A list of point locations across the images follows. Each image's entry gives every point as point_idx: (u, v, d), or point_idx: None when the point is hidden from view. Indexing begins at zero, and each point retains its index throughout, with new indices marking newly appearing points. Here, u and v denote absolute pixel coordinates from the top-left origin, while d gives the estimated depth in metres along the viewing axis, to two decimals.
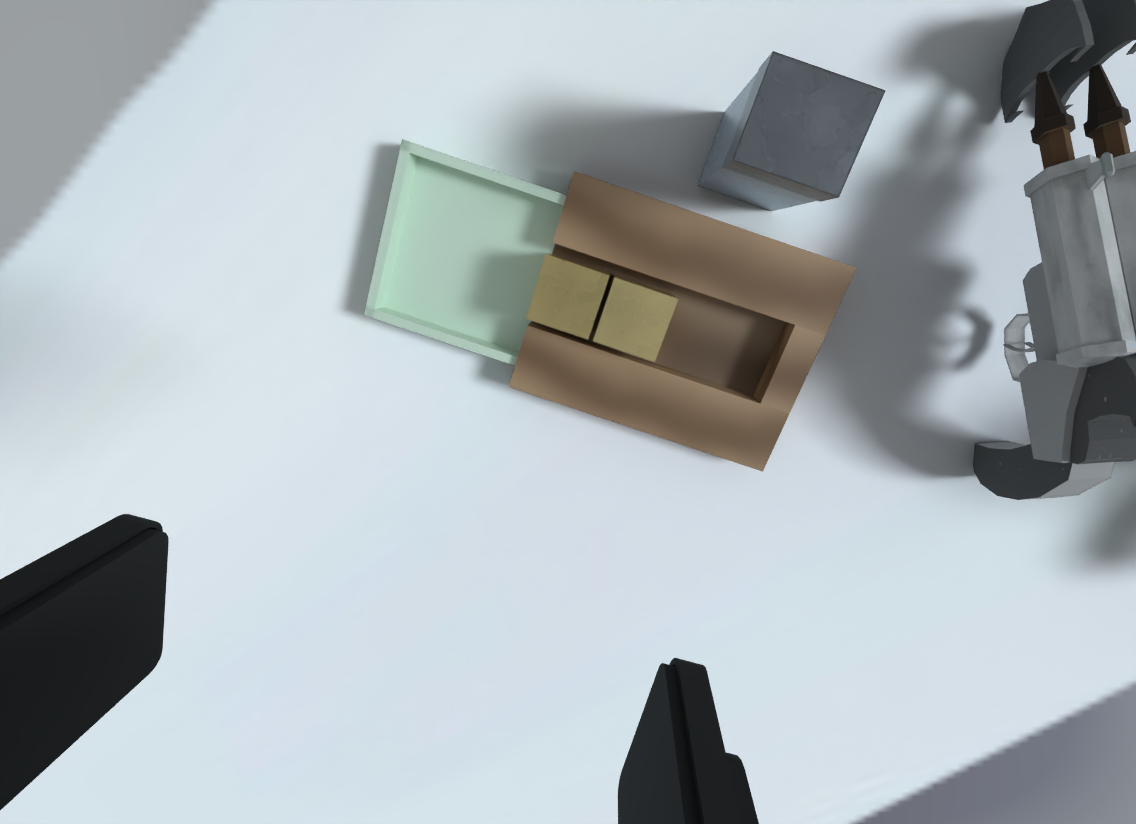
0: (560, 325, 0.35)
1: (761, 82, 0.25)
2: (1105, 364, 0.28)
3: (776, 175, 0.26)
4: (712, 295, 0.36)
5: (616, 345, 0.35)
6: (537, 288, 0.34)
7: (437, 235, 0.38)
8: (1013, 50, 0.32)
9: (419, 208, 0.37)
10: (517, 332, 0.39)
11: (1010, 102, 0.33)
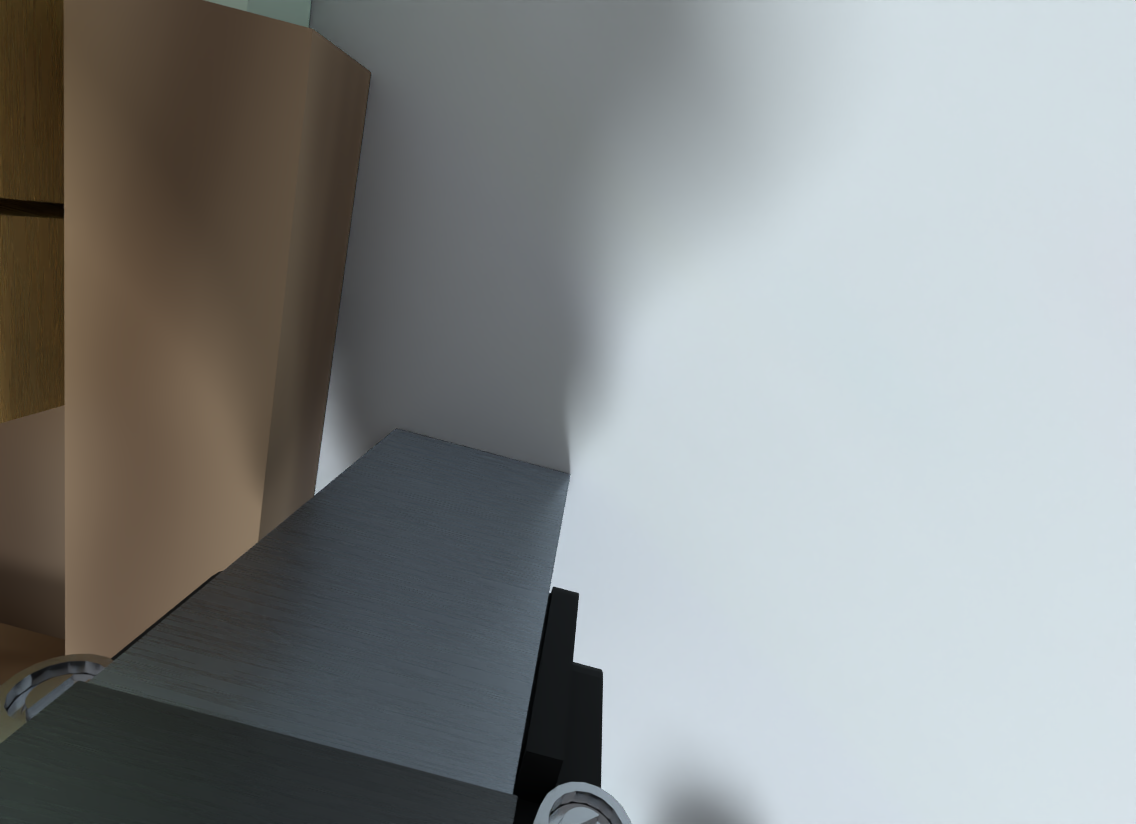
0: None
1: None
2: None
3: None
4: (68, 516, 0.12)
5: None
6: None
7: None
8: None
9: None
10: None
11: None
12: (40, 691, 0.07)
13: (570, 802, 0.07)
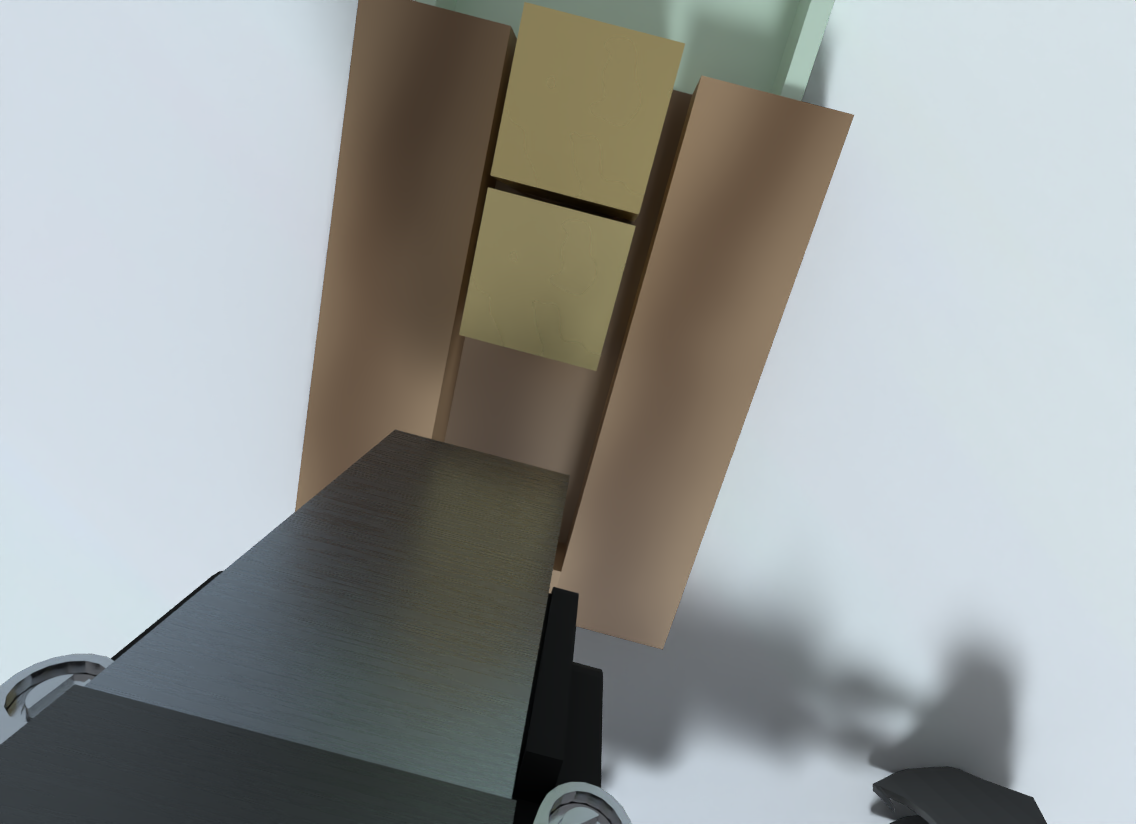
0: (516, 100, 0.14)
1: None
2: None
3: None
4: (604, 428, 0.19)
5: (484, 245, 0.15)
6: (601, 28, 0.14)
7: None
8: (970, 782, 0.23)
9: None
10: (495, 17, 0.17)
11: (902, 789, 0.23)
12: (40, 691, 0.07)
13: (570, 802, 0.07)
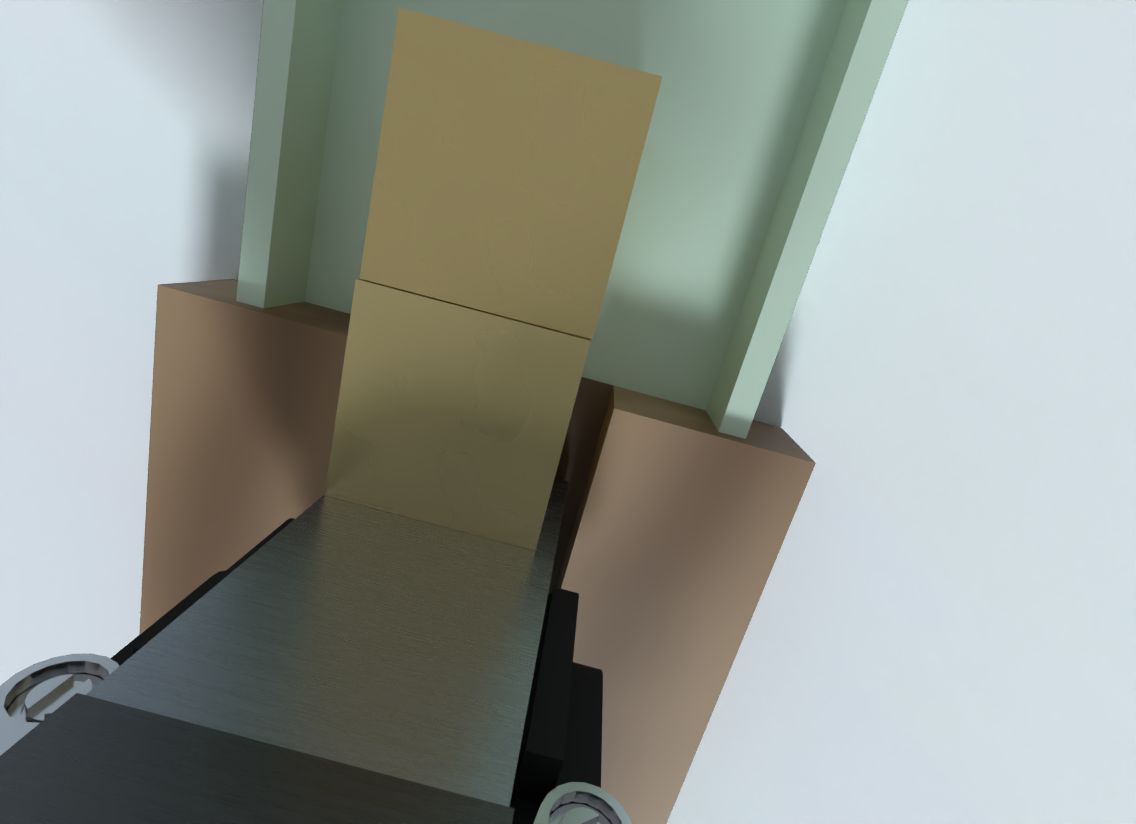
0: (393, 164, 0.09)
1: None
2: None
3: None
4: None
5: (355, 366, 0.10)
6: (525, 51, 0.08)
7: (622, 9, 0.12)
8: None
9: None
10: None
11: None
12: (40, 691, 0.07)
13: (570, 802, 0.07)
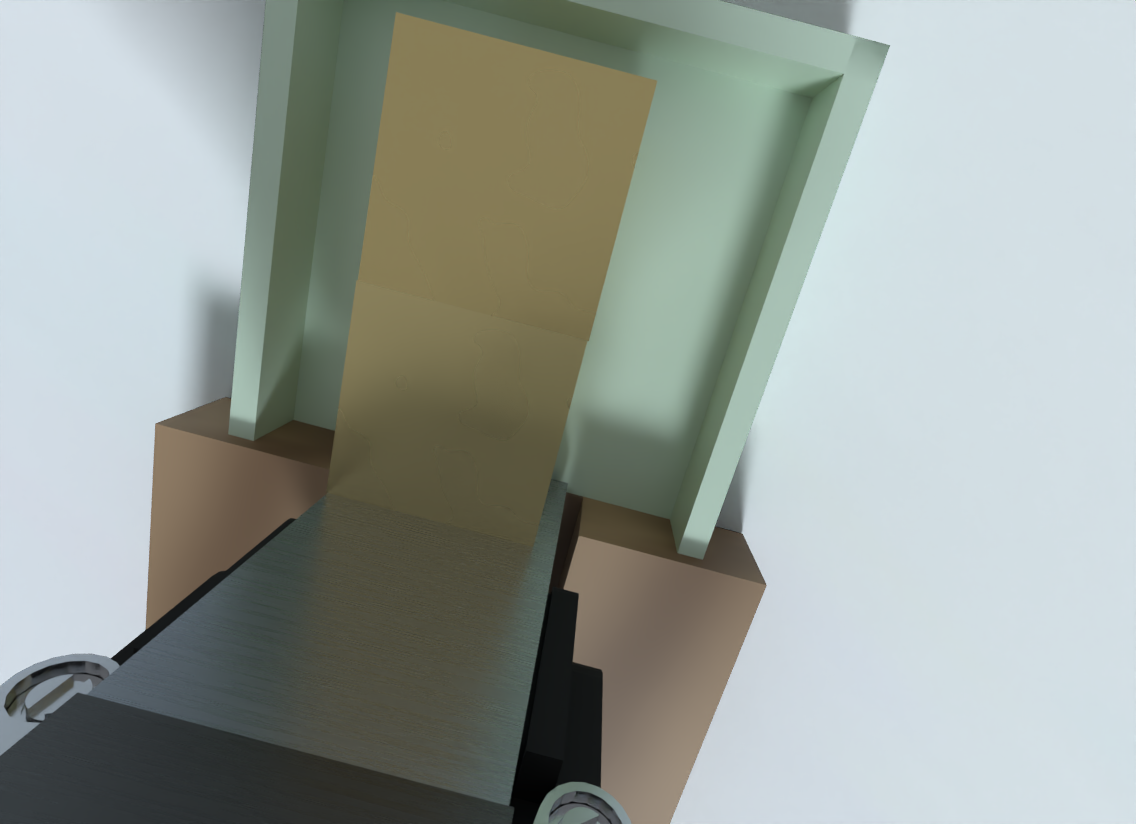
0: (391, 167, 0.09)
1: None
2: None
3: None
4: None
5: (356, 366, 0.10)
6: (521, 55, 0.08)
7: None
8: None
9: (660, 103, 0.12)
10: None
11: None
12: (40, 691, 0.07)
13: (570, 802, 0.07)
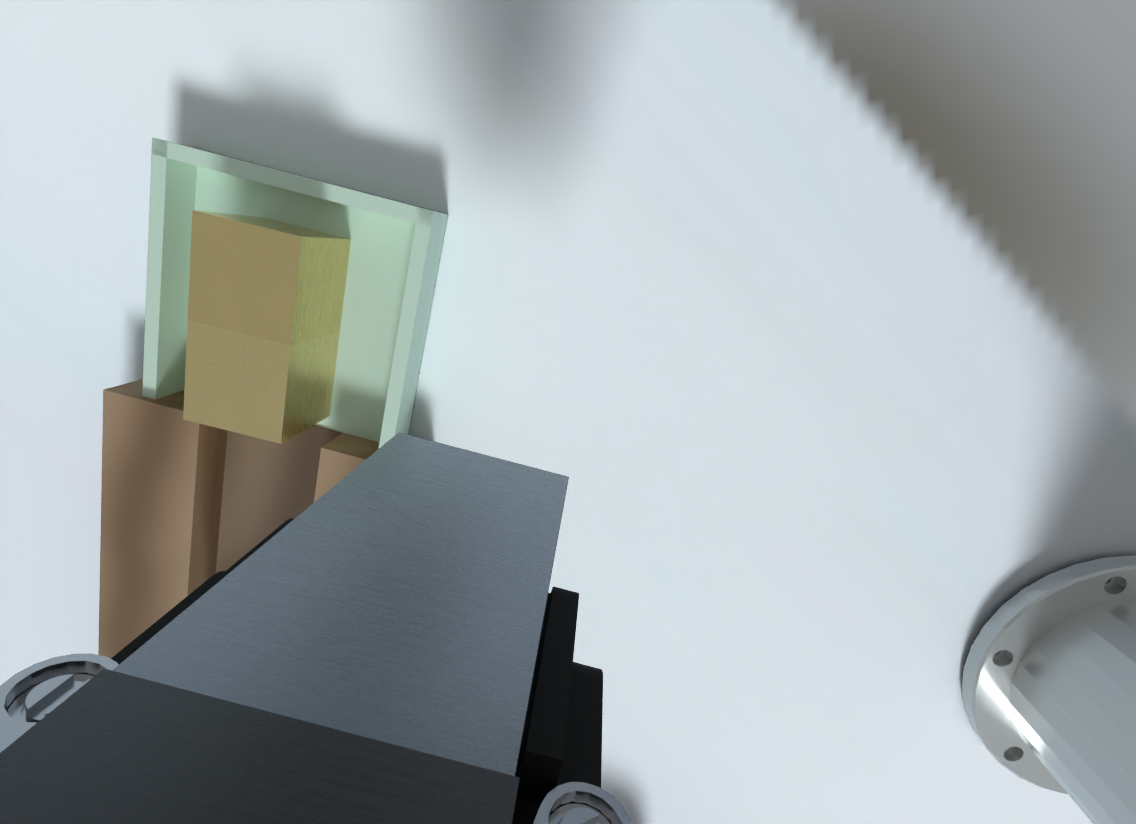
0: (197, 271, 0.21)
1: None
2: None
3: None
4: None
5: (191, 358, 0.22)
6: (244, 227, 0.20)
7: None
8: None
9: (356, 226, 0.24)
10: None
11: None
12: (40, 691, 0.07)
13: (570, 802, 0.07)
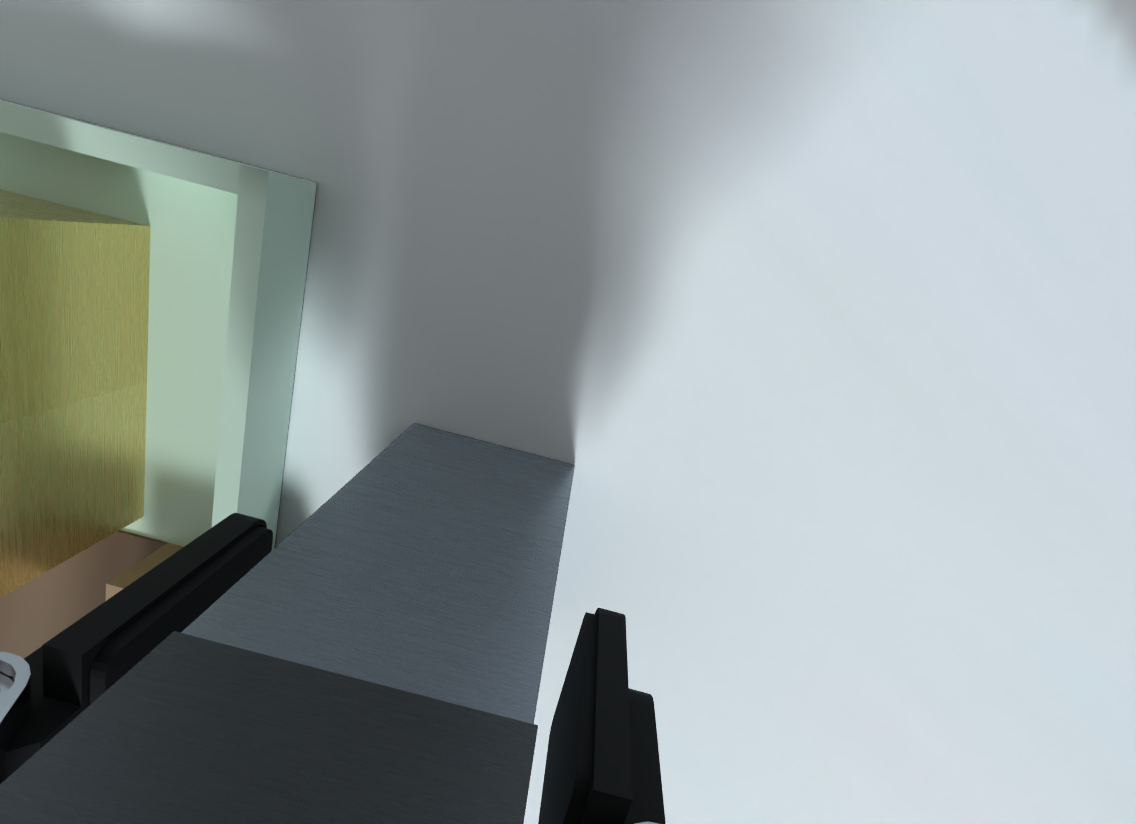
0: None
1: None
2: None
3: None
4: None
5: None
6: None
7: None
8: None
9: (158, 204, 0.14)
10: None
11: None
12: None
13: None
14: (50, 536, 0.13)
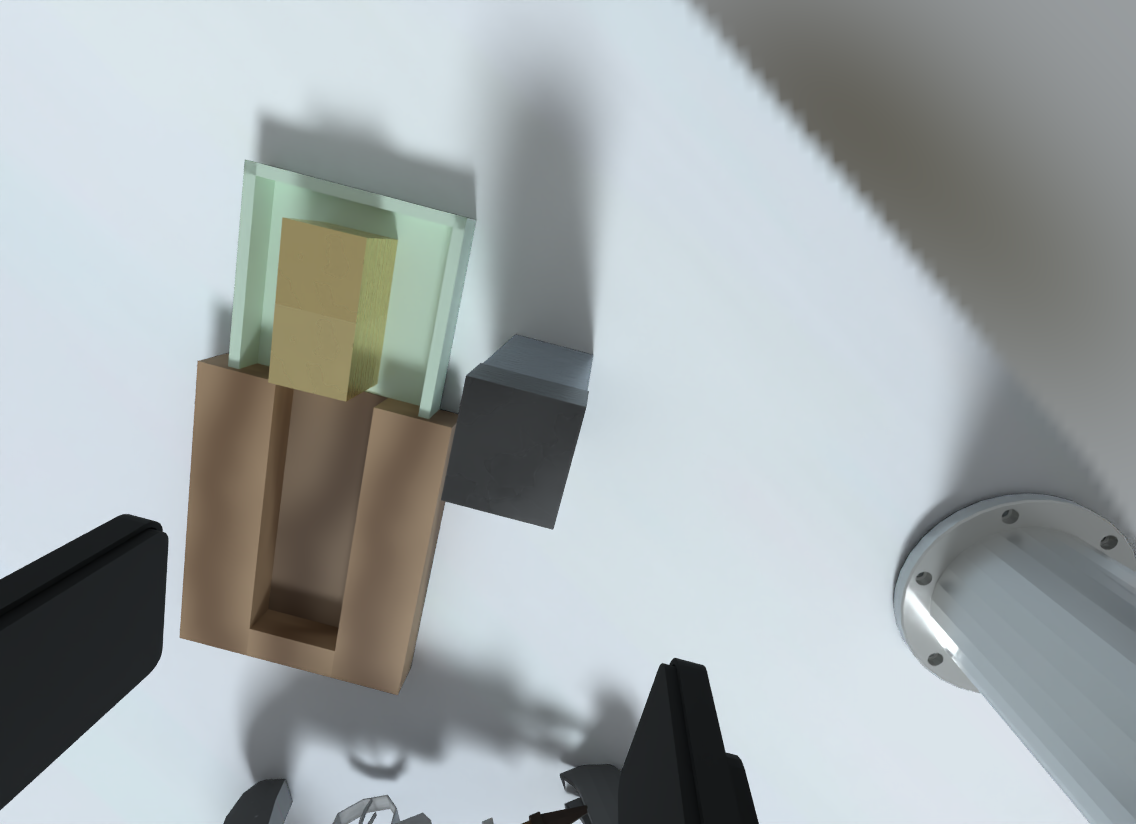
0: (284, 265, 0.27)
1: (554, 398, 0.21)
2: None
3: (455, 429, 0.21)
4: (348, 574, 0.33)
5: (276, 333, 0.28)
6: (323, 230, 0.26)
7: None
8: (614, 774, 0.38)
9: (402, 229, 0.30)
10: None
11: (574, 777, 0.38)
12: None
13: None
14: (358, 379, 0.29)
